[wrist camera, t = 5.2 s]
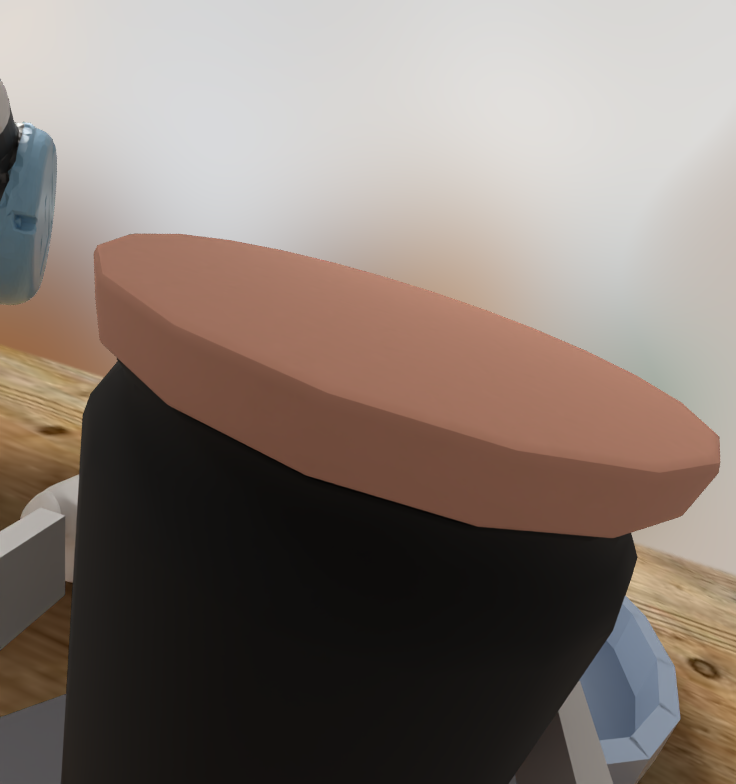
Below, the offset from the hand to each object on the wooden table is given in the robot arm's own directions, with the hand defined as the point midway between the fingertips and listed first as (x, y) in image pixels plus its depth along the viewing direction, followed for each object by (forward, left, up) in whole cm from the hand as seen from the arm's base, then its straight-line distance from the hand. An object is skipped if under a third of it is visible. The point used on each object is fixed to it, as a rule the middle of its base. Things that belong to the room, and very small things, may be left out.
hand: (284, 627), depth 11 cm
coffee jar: (-1, 0, -9) cm, 9 cm away
